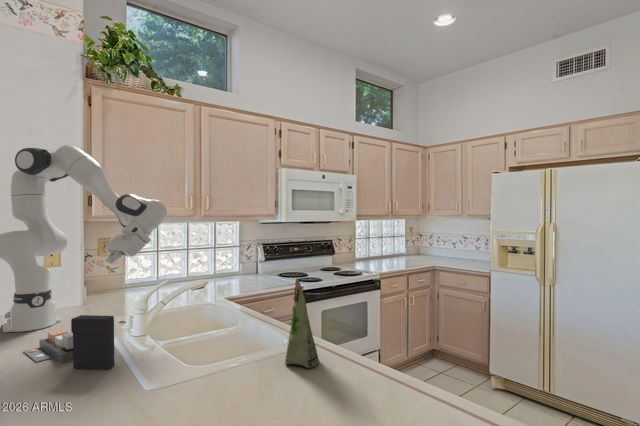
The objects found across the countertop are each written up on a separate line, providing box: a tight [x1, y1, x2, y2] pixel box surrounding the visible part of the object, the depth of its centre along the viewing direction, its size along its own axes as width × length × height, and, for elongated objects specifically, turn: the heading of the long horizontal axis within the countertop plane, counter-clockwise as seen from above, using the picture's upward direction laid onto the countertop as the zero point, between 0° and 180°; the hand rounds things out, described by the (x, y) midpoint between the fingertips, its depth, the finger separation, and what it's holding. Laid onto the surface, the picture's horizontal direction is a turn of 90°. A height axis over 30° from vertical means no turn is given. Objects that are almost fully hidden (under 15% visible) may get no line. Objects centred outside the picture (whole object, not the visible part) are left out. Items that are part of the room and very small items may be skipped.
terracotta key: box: [47, 328, 69, 343], centre depth 125 cm, size 5×5×4 cm
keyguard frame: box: [39, 337, 73, 364], centre depth 121 cm, size 22×9×2 cm, turn 52°
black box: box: [70, 314, 115, 371], centre depth 108 cm, size 11×4×15 cm, turn 84°
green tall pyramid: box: [285, 277, 320, 369], centre depth 110 cm, size 11×12×25 cm
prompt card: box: [22, 347, 51, 363], centre depth 117 cm, size 14×4×1 cm, turn 52°
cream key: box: [55, 335, 63, 348], centre depth 121 cm, size 5×5×4 cm
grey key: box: [62, 331, 73, 349], centre depth 117 cm, size 5×5×4 cm
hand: (108, 262), depth 134 cm, fingers closed
